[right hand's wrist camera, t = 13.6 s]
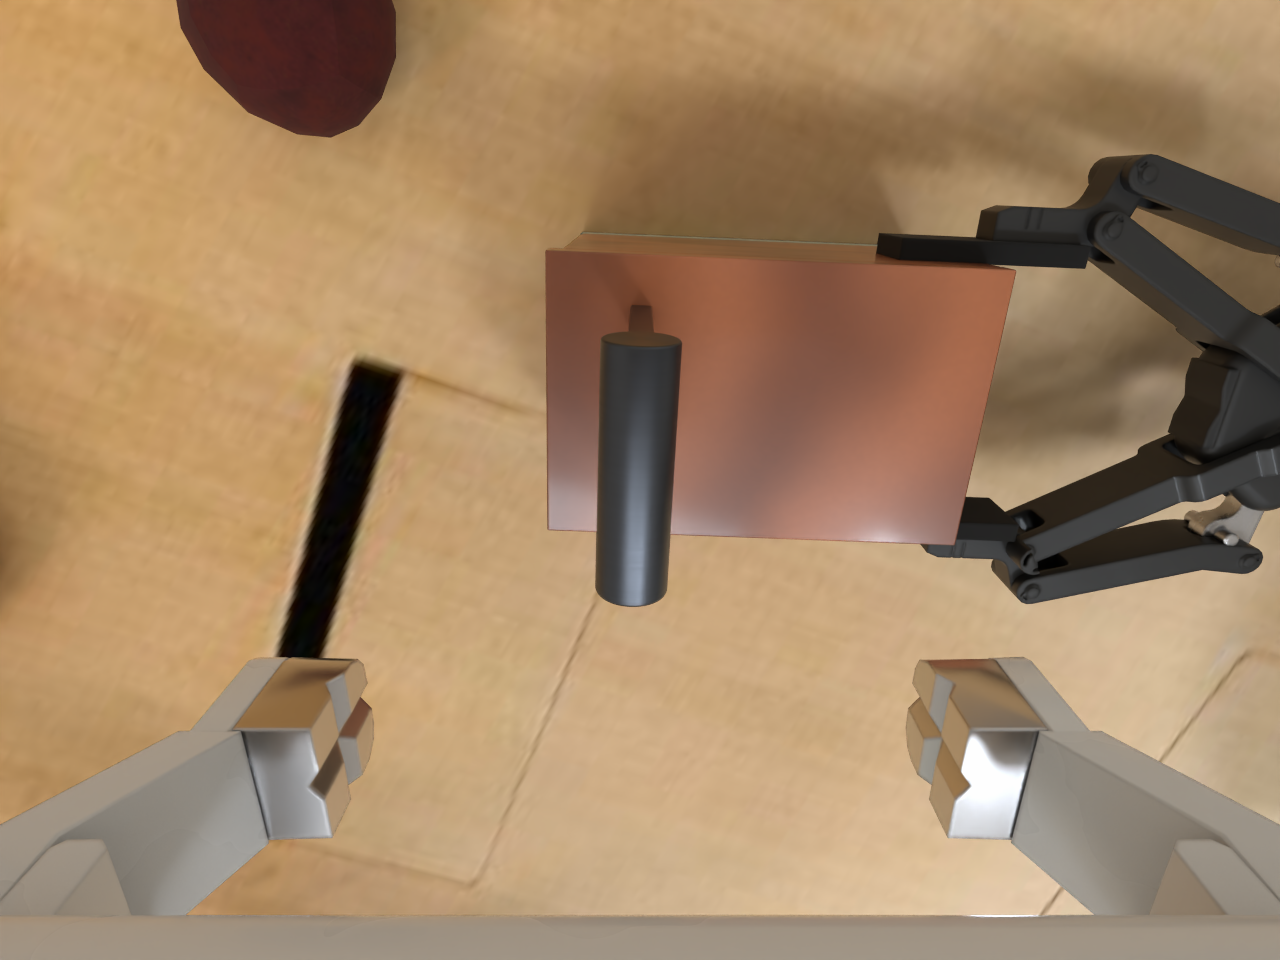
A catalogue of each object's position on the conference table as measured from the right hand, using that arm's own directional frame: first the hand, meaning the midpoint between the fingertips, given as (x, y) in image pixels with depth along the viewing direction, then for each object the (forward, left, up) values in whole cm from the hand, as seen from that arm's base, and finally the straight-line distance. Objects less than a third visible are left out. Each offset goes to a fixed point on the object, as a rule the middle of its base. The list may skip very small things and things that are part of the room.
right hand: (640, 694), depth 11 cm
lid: (+4, -1, -16) cm, 17 cm away
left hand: (+9, -1, -19) cm, 21 cm away
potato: (-11, +14, -26) cm, 31 cm away
